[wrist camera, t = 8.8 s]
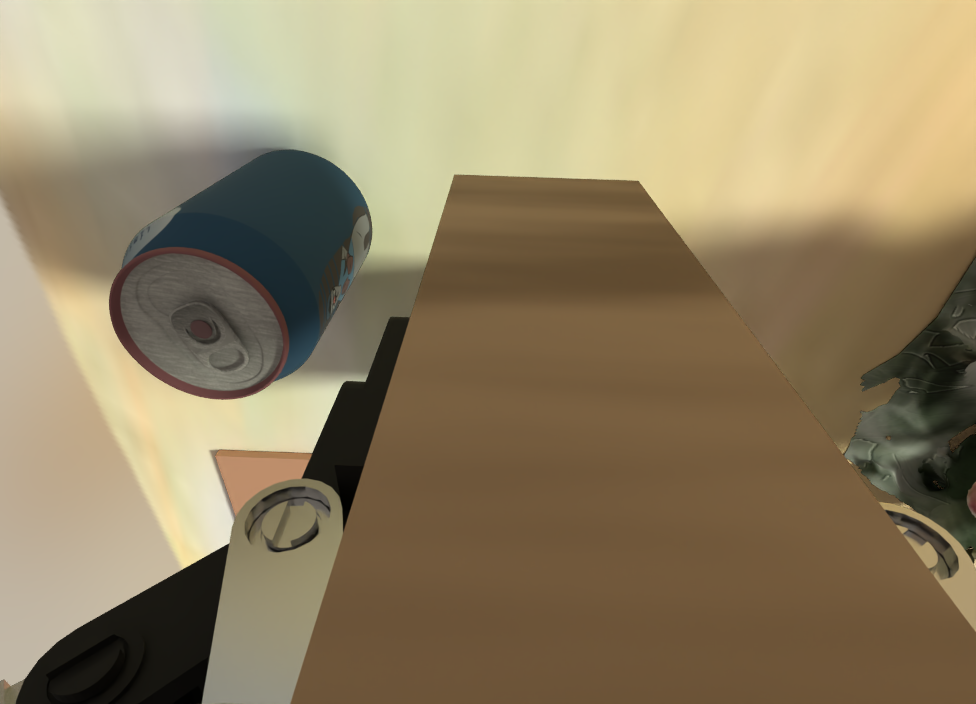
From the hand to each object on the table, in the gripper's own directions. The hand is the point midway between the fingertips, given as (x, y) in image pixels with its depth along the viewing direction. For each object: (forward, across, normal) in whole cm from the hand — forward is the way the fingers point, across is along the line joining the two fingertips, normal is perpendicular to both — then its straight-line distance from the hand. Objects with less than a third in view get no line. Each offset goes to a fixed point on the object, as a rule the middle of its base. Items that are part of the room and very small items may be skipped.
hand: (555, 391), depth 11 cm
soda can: (+19, +11, +3) cm, 22 cm away
